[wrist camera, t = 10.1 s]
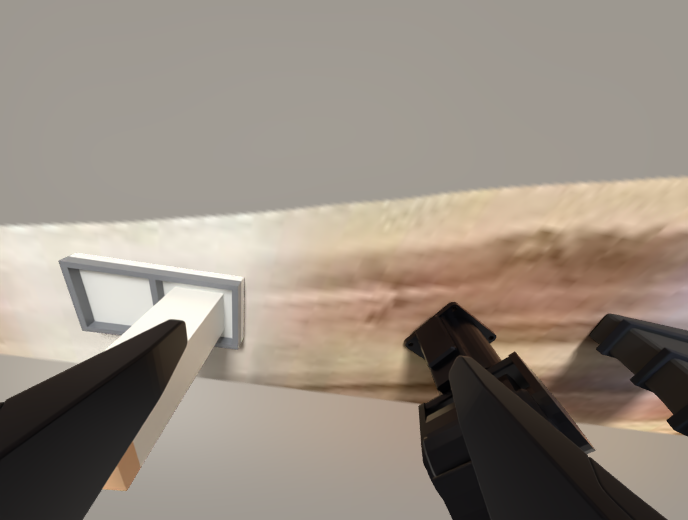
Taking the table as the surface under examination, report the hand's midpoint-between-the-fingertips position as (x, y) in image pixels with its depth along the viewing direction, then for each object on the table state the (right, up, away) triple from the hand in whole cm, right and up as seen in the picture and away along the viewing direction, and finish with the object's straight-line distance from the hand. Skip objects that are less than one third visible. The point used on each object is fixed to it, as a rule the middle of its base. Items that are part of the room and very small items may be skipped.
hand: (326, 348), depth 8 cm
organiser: (-15, -1, +15) cm, 21 cm away
